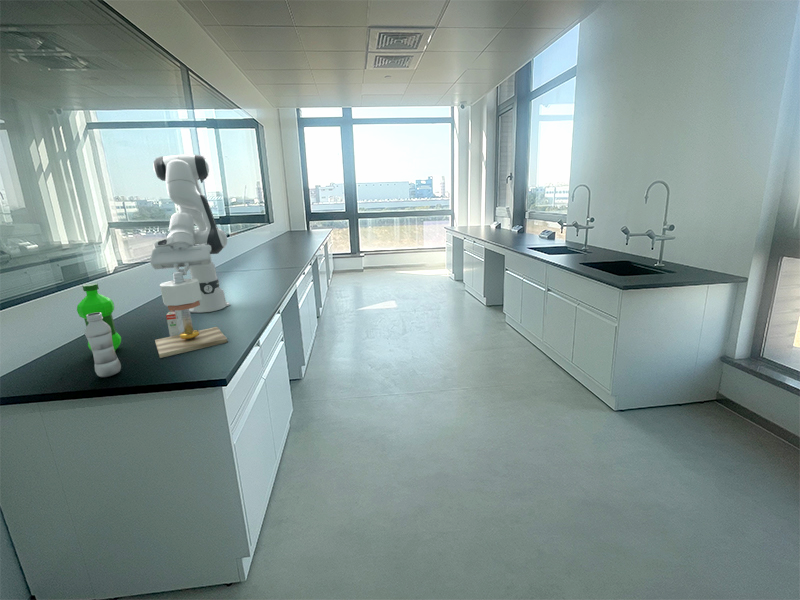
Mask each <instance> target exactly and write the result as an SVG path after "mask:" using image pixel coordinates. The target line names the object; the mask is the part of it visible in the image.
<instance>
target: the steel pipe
mask: <svg viewBox="0 0 800 600" xmlns="http://www.w3.org/2000/svg"><path fill="white" fill-rule="evenodd" d="M172 276H173V280H174V283H175V284H178V283H184V279H185V278H184V275H183V274H182V272H177V271H175V272H172ZM180 312H181V317H182V322H183V328H184V332H182V333H181V334H180V338H181V339H186V340H187V341H190V340H194V339H195V337H197V336H198V335H199V330H197V329H194V327H193V325H194V324H193V321H192V316H191V313H190V310H189V309H185V310H180Z"/></svg>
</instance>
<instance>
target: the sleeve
mask: <svg viewBox="0 0 800 600" xmlns="http://www.w3.org/2000/svg"><path fill="white" fill-rule="evenodd" d="M183 279H184V283H178V284H175V283H174V279H173V280H169V281H165V282H161V283H159V287H160V293H161V297H162V302H163V304H164V306H166V307H168V306H178V305H184V304H189V303H194V302H196V301H199V300H201V299H202V296H201V290H200V285H199V281H198V280H197V279H192V278H183Z"/></svg>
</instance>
